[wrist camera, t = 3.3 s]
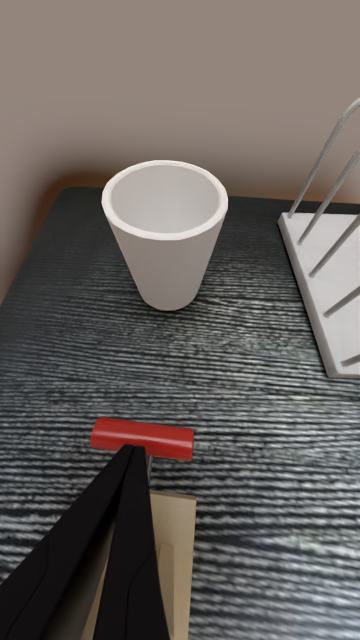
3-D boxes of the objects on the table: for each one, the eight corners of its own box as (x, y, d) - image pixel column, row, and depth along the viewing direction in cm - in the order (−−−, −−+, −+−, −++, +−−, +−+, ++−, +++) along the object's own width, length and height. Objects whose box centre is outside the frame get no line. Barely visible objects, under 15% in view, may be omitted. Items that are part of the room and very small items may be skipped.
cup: (118, 309, 26) (75, 220, 15) (146, 253, 30) (130, 150, 19) (195, 331, 25) (213, 253, 14) (213, 270, 29) (238, 171, 18)
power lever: (107, 410, 12) (88, 426, 10) (192, 421, 12) (194, 440, 10) (69, 655, 11) (37, 744, 8) (166, 671, 11) (161, 765, 8)
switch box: (103, 483, 18) (51, 527, 10) (195, 495, 18) (212, 550, 10) (61, 671, 14) (-89, 1002, 6) (182, 691, 14) (195, 1060, 6)
